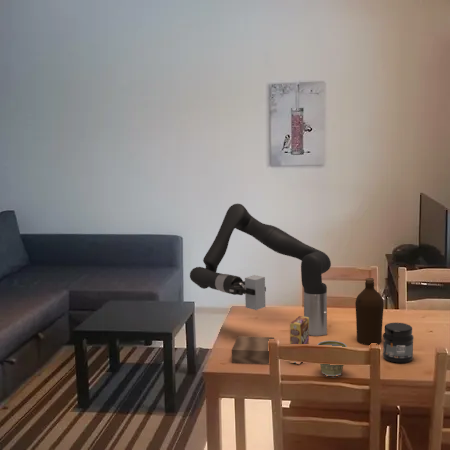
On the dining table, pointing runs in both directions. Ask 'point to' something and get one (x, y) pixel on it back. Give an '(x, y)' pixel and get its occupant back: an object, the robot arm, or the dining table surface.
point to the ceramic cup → (327, 368)
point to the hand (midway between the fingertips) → (260, 290)
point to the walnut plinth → (251, 350)
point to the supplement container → (398, 342)
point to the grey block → (259, 287)
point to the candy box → (299, 331)
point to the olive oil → (369, 314)
